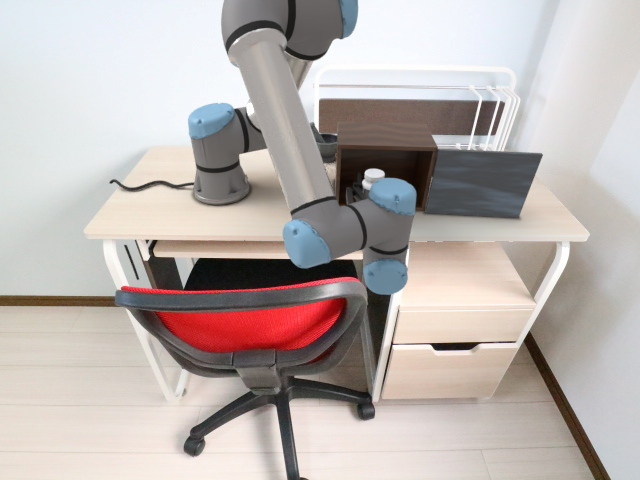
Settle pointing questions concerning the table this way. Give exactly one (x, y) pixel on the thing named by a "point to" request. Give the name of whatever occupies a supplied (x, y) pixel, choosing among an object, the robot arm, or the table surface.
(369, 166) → the cabinet
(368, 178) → the pill bottle
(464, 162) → the cabinet door
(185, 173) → the table surface
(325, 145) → the mortar and pestle
